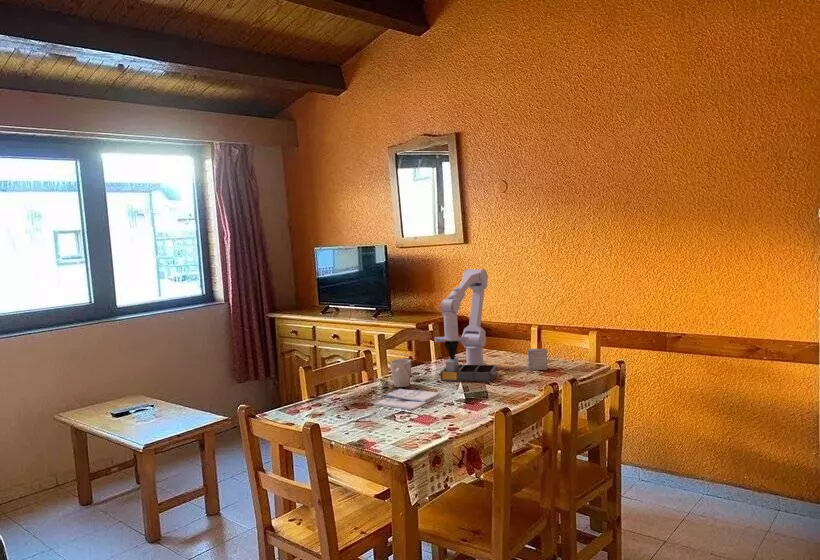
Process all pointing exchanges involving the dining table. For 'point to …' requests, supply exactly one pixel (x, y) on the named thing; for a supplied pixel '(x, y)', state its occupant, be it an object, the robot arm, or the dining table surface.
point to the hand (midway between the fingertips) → (452, 358)
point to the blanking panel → (452, 365)
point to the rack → (471, 373)
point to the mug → (401, 372)
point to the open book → (412, 396)
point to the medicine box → (537, 359)
